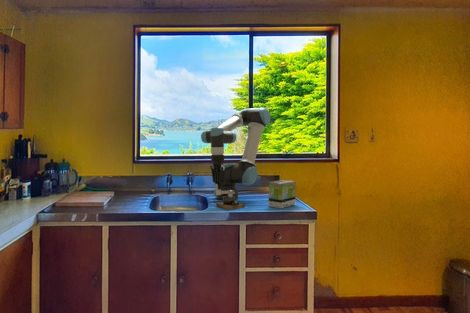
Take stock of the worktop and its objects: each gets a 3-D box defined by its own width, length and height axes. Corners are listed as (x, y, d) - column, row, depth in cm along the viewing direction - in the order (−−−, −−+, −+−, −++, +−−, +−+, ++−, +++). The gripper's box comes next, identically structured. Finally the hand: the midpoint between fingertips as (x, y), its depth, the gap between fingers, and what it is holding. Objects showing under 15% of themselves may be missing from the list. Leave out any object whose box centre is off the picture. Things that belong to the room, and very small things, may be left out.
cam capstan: (234, 201, 211) (233, 187, 210) (235, 204, 204) (235, 189, 204) (214, 202, 209) (213, 188, 209) (215, 204, 202) (214, 190, 202)
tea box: (282, 209, 202) (282, 183, 201) (268, 206, 208) (268, 182, 207) (296, 204, 213) (296, 180, 212) (282, 202, 220) (282, 179, 219)
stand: (232, 204, 216) (232, 197, 216) (244, 207, 206) (244, 200, 206) (216, 206, 209) (216, 199, 208) (228, 210, 199) (227, 202, 199)
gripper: (229, 154, 199) (230, 195, 201) (216, 153, 210) (217, 192, 211) (218, 155, 195) (219, 197, 196) (206, 154, 205) (207, 194, 207)
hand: (218, 194), depth 204 cm, fingers closed
